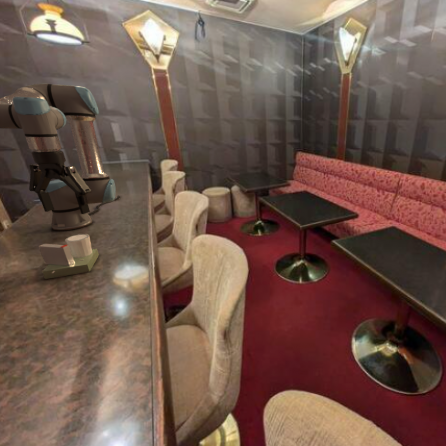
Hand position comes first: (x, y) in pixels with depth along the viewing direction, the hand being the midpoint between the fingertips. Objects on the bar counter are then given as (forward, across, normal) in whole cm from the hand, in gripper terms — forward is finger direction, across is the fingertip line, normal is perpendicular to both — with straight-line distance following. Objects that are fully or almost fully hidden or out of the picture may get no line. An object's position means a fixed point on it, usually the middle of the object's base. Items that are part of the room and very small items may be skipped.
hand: (67, 211), depth 88 cm
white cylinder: (+17, -2, +1) cm, 17 cm away
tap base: (+19, 0, +7) cm, 21 cm away
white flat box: (+16, 0, +8) cm, 18 cm away
